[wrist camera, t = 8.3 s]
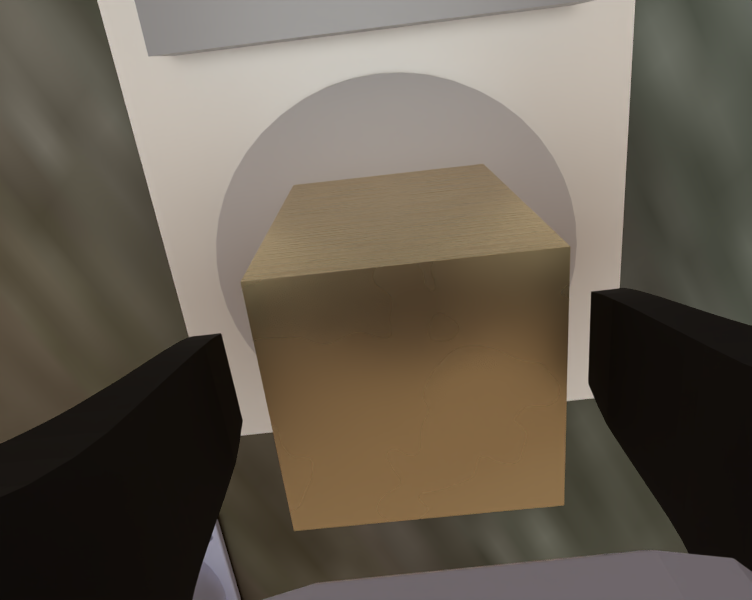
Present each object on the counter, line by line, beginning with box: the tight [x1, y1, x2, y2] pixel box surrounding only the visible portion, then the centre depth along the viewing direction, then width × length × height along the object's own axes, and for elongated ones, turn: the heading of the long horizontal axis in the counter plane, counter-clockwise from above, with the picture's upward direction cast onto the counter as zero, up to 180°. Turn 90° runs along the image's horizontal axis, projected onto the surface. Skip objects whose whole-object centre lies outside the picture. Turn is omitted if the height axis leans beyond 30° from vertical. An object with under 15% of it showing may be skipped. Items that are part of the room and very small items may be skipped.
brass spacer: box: [241, 164, 570, 531], centre depth 13 cm, size 5×5×7 cm
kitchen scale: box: [97, 0, 635, 436], centre depth 15 cm, size 15×13×5 cm
